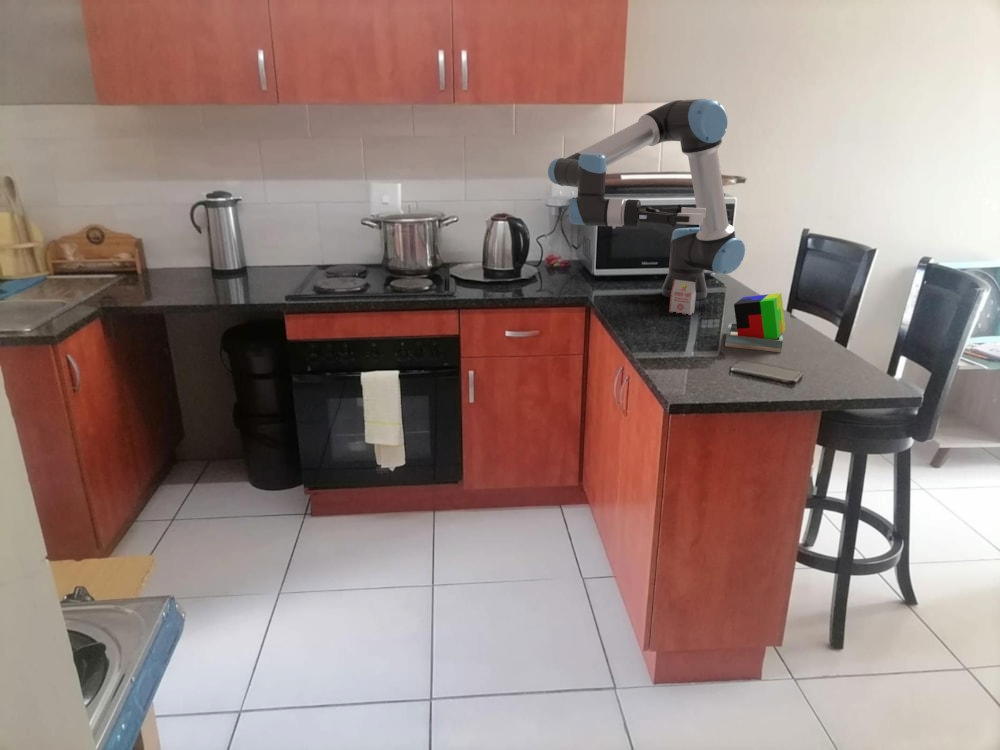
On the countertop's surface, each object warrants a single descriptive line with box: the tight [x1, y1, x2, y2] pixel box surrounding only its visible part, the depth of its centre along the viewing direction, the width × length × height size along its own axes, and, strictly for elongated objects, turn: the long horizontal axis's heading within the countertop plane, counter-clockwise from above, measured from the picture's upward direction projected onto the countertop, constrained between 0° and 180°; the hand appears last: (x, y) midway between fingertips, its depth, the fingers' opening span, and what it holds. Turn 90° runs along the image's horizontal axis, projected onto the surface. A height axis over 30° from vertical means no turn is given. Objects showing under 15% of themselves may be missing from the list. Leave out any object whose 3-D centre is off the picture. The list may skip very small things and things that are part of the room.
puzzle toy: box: [733, 292, 786, 339], centre depth 188 cm, size 10×10×10 cm
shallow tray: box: [724, 322, 784, 353], centre depth 190 cm, size 14×14×3 cm
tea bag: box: [668, 280, 696, 316], centre depth 219 cm, size 4×7×10 cm, turn 55°
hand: (704, 216), depth 189 cm, fingers open, 13 cm apart
